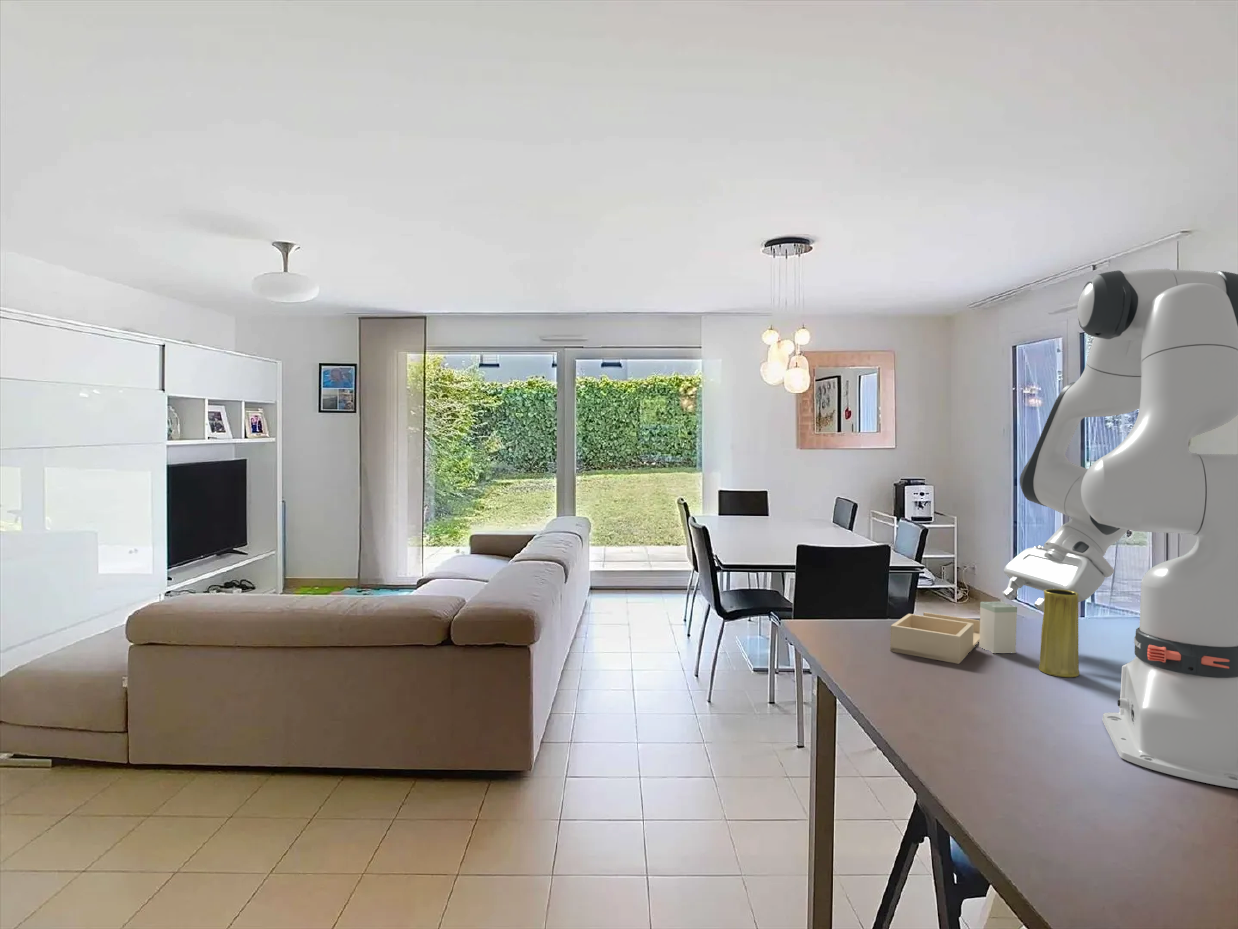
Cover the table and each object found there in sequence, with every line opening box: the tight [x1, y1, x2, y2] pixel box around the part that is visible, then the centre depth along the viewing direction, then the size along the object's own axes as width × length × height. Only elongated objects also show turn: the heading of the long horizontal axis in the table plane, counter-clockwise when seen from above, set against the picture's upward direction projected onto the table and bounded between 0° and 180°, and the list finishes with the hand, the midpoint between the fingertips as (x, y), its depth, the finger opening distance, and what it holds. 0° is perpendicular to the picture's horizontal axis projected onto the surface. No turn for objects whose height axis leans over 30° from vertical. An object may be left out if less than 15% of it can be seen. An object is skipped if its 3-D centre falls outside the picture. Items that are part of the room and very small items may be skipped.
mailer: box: [889, 611, 980, 665], centre depth 142 cm, size 24×12×5 cm, turn 143°
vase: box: [1038, 589, 1080, 679], centre depth 124 cm, size 6×6×14 cm
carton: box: [978, 601, 1018, 654], centre depth 137 cm, size 4×4×9 cm
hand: (1022, 603), depth 138 cm, fingers open, 8 cm apart
